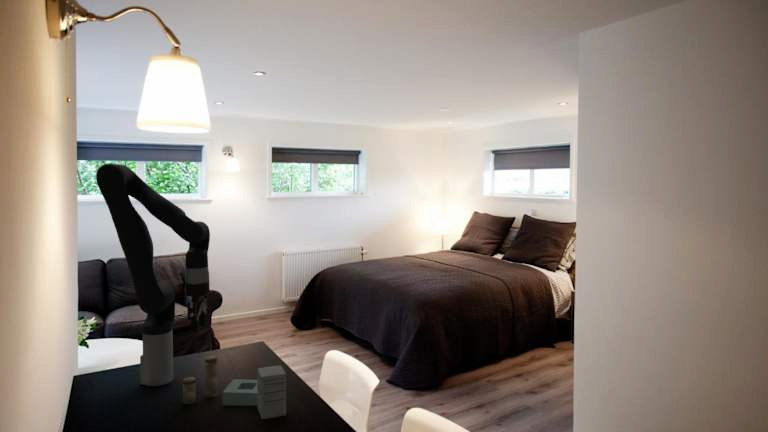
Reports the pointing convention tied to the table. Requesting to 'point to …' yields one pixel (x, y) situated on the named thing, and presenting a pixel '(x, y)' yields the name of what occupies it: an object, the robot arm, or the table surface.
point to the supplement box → (271, 391)
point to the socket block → (241, 393)
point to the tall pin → (211, 376)
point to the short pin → (189, 390)
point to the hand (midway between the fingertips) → (198, 328)
